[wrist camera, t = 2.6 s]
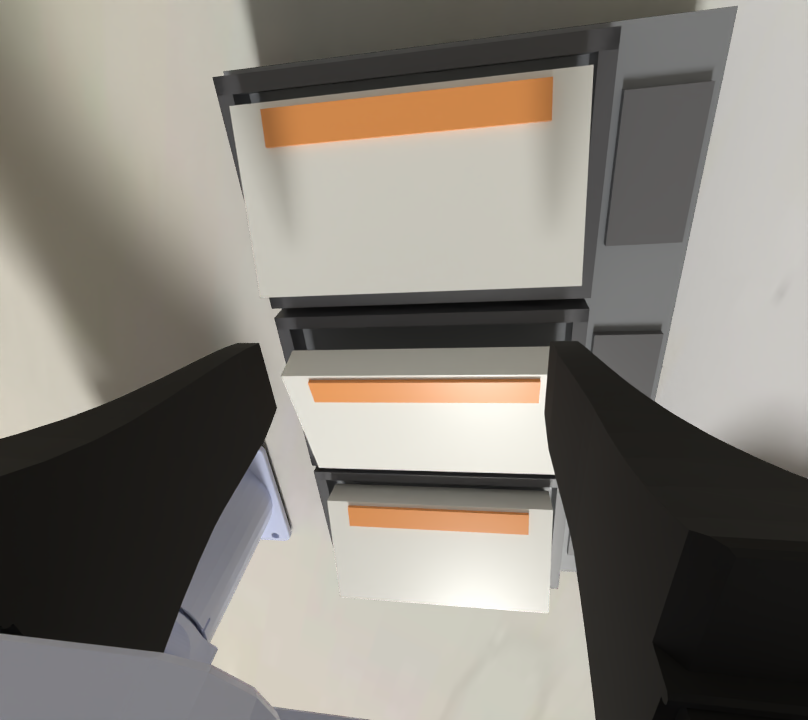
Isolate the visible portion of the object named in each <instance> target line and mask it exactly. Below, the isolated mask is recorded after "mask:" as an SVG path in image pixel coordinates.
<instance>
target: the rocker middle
mask: <svg viewBox="0 0 808 720" xmlns="http://www.w3.org/2000/svg"><path fill="white" fill-rule="evenodd" d="M549 348H550V346H546V347H484V348H422V349H360V350H299V351H292V353H291V355H290V357H289V359H288V362H287V364H286V366H285V368H284V371H283V373H282V375H281V377H282V380H283V382H284V385H285V387H286V389H287V392H288V394H289V397H290V399H291V401H292V404H293V406H294V409H295V411H296V414H297V416H298V418H299V421H300V423H301V426H302V428H303V430H304V433H305V435H306V438H307V440H308V442H309V445H310V447H311V450H312V452H313V455H314V457H315V459H316V462H317V464H318V467H319V468H343V469H378V470H412V471H447V472H482V473H516V474H551V475H555V473H554V469H553V465H552V461H551V457H550V453H549V449H548V442H547V434H546V425H545V416H544V409H545V397H546V384H547V372H548V360H549Z"/></svg>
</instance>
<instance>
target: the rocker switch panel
mask: <svg viewBox="0 0 808 720" xmlns="http://www.w3.org/2000/svg"><path fill="white" fill-rule="evenodd" d="M737 8H738V6H733V7H725V8H717V9H709V10H701V11H693V12H686V13H678V14H670V15H662V16H654V17H646V18H639V19H631V20H623V21H615V22H607V23H599V24H592V25H584V26H576V27H568V28H560V29H552V30H545V31H537V32H529V33H521V34H513V35H505V36H498V37H490V38H482V39H474V40H466V41H458V42H451V43H443V44H435V45H427V46H419V47H411V48H403V49H396V50H388V51H380V52H372V53H364V54H356V55H349V56H341V57H333V58H325V59H317V60H309V61H302V62H294V63H286V64H278V65H270V66H262V67H255V68H247V69H239V70H231V71H223V72H224V76H219V77H213V81H214V85H215V89H216V93H217V97H218V101H219V104H220V108H221V112H222V116H223V120H224V124H225V128H226V132H227V136H228V139H229V143H230V147H231V151H232V155H233V159H234V163H235V167H236V171H237V175H238V178H239V182H240V186H241V190H242V194H243V188H242V182H241V176H240V170H239V163H238V157H237V151H236V145H235V138H234V132H233V126H232V120H231V114H230V107H229V106H235V105H243V104H252V103H261V102H270V101H279V100H287V99H296V98H305V97H314V96H323V95H332V94H340V93H349V92H358V91H367V90H376V89H384V88H393V87H402V86H411V85H420V84H428V83H437V82H446V81H455V80H464V79H472V78H481V77H490V76H499V75H508V74H516V73H525V72H534V71H543V70H552V69H560V68H569V67H578V66H587V65H594V68H593V87H592V105H591V124H590V142H589V161H588V179H587V198H586V216H585V235H584V254H583V272H582V286H566V287H539V288H512V289H485V290H458V291H431V292H404V293H377V294H350V295H323V296H296V297H269V299H270V303H271V307H272V309H274V308H282V310H281V311H280V312H279V313H278V315H277V316H276V317H275V318H274V319H275V322H276V326H277V330H278V334H279V338H280V342H281V346H282V350H283V354H284V358H285V361H286V364H287V362H288V359H289V357H290V355H291V353H292V351H299V350H360V349H422V348H484V347H546V346H550V341H579V342H580V343H581V344H582V345H584V346H585V347H586V348H587V349H588V350H590V351H591V352H592V353H593V354H594V355H595V356H597V357H598V358H599V359H600V360H601V361H602V362H604V363H605V364H606V365H607V366H608V367H610V368H611V369H612V370H613V371H614V372H616V373H617V374H618V375H619V376H621V377H622V378H623V379H624V380H626V381H627V382H628V383H630V384H631V385H632V386H634V387H635V388H636V389H638V390H639V391H640V392H642V393H643V394H645V395H646V396H647V397H649V398H650V399H652V400H653V401H655V397H656V392H657V388H658V383H659V378H660V373H661V369H662V364H663V359H664V354H665V350H666V345H667V340H668V335H669V331H670V326H671V321H672V316H673V312H674V307H675V302H676V297H677V293H678V288H679V283H680V278H681V274H682V269H683V264H684V260H685V255H686V250H687V245H688V241H689V236H690V231H691V226H692V222H693V217H694V212H695V207H696V203H697V198H698V193H699V188H700V184H701V179H702V174H703V169H704V165H705V160H706V155H707V150H708V146H709V141H710V136H711V131H712V127H713V122H714V117H715V112H716V108H717V103H718V98H719V93H720V89H721V84H722V79H723V75H724V70H725V65H726V60H727V56H728V51H729V46H730V41H731V37H732V32H733V27H734V22H735V18H736V13H737ZM243 198H244V195H243ZM244 202H245V201H244ZM303 431H304V430H303ZM304 435H305V433H304ZM305 439H306V443H307V447H308V451H309V455H310V459H311V463H312V465H313V466H316V468H315V470H314V474H315V478H316V482H317V486H318V490H319V494H320V498H321V502H322V505H323V509H324V513H325V517H326V521H327V525H328V529H329V533H330V537H331V541H332V533H331V526H330V518H329V511H328V503H327V500H328V498H329V496H330V494H331V492H332V491H333V489H334V487H335V485H336V484H362V485H390V486H419V487H448V488H477V489H506V490H534V491H549V495H550V500H551V504H552V508H553V522H552V547H551V571H550V588H551V589H558V585H559V577H560V571H569V572H577V570H576V564H575V557H574V550H573V545H572V541H571V536H570V531H569V527H568V523H567V519H566V516H565V512H564V508H563V504H562V500H561V496H560V493H559V489H558V485H557V481H556V477H555V475H551V474H516V473H482V472H447V471H412V470H378V469H343V468H319V467H318V464H317V462H316V459H315V457H314V455H313V452H312V450H311V447H310V445H309V442H308V440H307V438H306V435H305ZM332 544H333V541H332Z"/></svg>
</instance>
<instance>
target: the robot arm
mask: <svg viewBox="0 0 808 720" xmlns="http://www.w3.org/2000/svg"><path fill="white" fill-rule="evenodd" d="M276 409H277V407H276V403H275V399H274V396H273V392H272V388H271V385H270V381H269V378H268V374H267V370H266V367H265V363H264V359H263V356H262V352H261V348H260V345H259V343H237V344H234V345H231V346H228V347H225V348H223V349H221V350H218V351H216V352H214V353H212V354H210V355H208V356H206V357H204V358H202V359H199V360H197V361H195V362H193V363H191V364H189V365H187V366H185V367H183V368H181V369H179V370H177V371H175V372H173V373H171V374H169V375H167V376H165V377H163V378H161V379H159V380H157V381H155V382H153V383H150V384H148V385H146V386H144V387H142V388H140V389H138V390H135V391H133V392H131V393H129V394H127V395H125V396H122V397H120V398H118V399H115V400H113V401H111V402H108V403H106V404H103V405H101V406H98V407H96V408H93V409H90V410H88V411H85V412H83V413H80V414H77V415H75V416H72V417H69V418H66V419H63V420H60V421H57V422H54V423H51V424H48V425H44V426H41V427H38V428H35V429H32V430H29V431H26V432H23V433H19V434H16V435H13V436H9V437H6V438H2V439H0V720H368V719H360V718H353V717H345V716H338V715H330V714H323V713H315V712H308V711H300V710H293V709H286V708H278V707H272V706H271V705H270V704H269V703H268V702H267V701H266V700H265V699H264V697H263V696H262V695H261V694H260V693H259V692H258V691H257V690H256V689H255V688H254V687H253V686H251V685H249V684H247V683H245V682H243V681H241V680H239V679H237V678H236V677H234V676H232V675H230V674H228V673H226V672H224V671H222V670H221V669H219V668H217V667H215V666H213V665H211V663H212V661H213V659H214V656H215V654H216V652H217V650H218V649H217V647H216V646H214V645H212V644H211V643H210V642H211V640H212V638H213V636H214V633H215V631H216V629H217V627H218V625H219V623H220V621H221V619H222V617H223V615H224V613H225V611H226V609H227V607H228V605H229V603H230V601H231V599H232V596H233V594H234V592H235V590H236V588H237V586H238V584H239V582H240V580H241V578H242V576H243V574H244V572H245V570H246V568H247V566H248V564H249V562H250V559H251V557H252V555H253V553H254V551H255V549H256V547H257V545H258V543H259V541H260V539H265V540H282V541H285V540H288V539H289V538H290V536H291V529H290V526H289V523H288V520H287V516H286V513H285V510H284V507H283V504H282V501H281V498H280V494H279V491H278V488H277V485H276V482H275V479H274V475H273V472H272V469H271V466H270V463H269V460H268V456H267V453H266V450H265V449H264V448H263V447H262V446H261V445H262V443H263V442H264V440H265V437H266V435H267V433H268V430H269V428H270V425H271V423H272V420H273V417H274V415H275V412H276ZM544 416H545V425H546V434H547V442H548V449H549V453H550V457H551V461H552V465H553V469H554V473H555V477H556V481H557V485H558V489H559V493H560V496H561V500H562V504H563V508H564V512H565V516H566V519H567V523H568V527H569V531H570V536H571V541H572V545H573V550H574V557H575V564H576V570H577V577H578V584H579V591H580V598H581V605H582V613H583V620H584V627H585V635H586V642H587V650H588V658H589V667H590V675H591V683H592V691H593V699H594V708H595V718H596V720H808V479H806V478H804V477H801V476H799V475H796V474H794V473H791V472H789V471H786V470H784V469H782V468H779V467H777V466H775V465H772V464H770V463H767V462H765V461H763V460H761V459H758V458H756V457H754V456H752V455H750V454H748V453H746V452H744V451H742V450H739V449H737V448H735V447H733V446H731V445H729V444H727V443H725V442H723V441H721V440H719V439H717V438H715V437H713V436H711V435H709V434H707V433H706V432H704V431H702V430H700V429H699V428H697V427H695V426H693V425H692V424H690V423H688V422H686V421H685V420H683V419H681V418H679V417H678V416H676V415H674V414H673V413H671V412H670V411H668V410H667V409H665V408H663V407H662V406H660V405H659V404H658V403H656V402H655V401H653V400H652V399H650V398H649V397H647V396H646V395H645V394H643V393H642V392H640V391H639V390H638V389H636V388H635V387H634V386H632V385H631V384H630V383H628V382H627V381H626V380H624V379H623V378H622V377H621V376H619V375H618V374H617V373H616V372H614V371H613V370H612V369H611V368H610V367H608V366H607V365H606V364H605V363H604V362H602V361H601V360H600V359H599V358H598V357H597V356H595V355H594V354H593V353H592V352H591V351H590V350H588V349H587V348H586V347H585V346H584V345H582V344H581V343H580V342H579V341H550V348H549V360H548V372H547V384H546V397H545V409H544Z"/></svg>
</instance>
